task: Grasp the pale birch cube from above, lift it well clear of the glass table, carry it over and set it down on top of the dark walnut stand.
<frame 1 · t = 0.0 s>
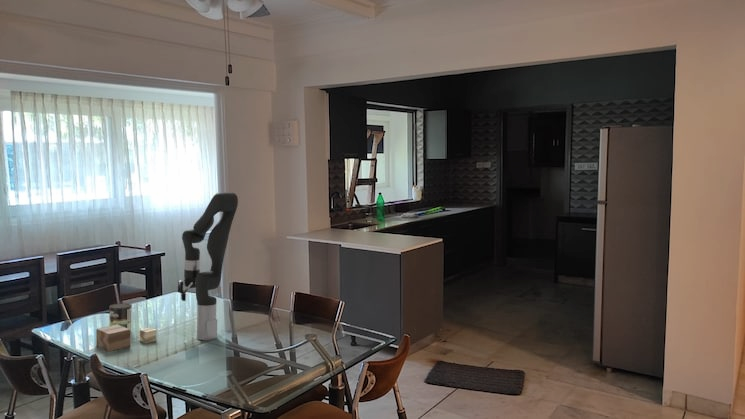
hand: (191, 299, 278), 17 cm above the table, tool pointing down, fingers open, 8 cm apart
walnut stand: (113, 345, 254), on the table
birch cube: (148, 340, 264), on the table
coffee can: (120, 333, 274), on the table
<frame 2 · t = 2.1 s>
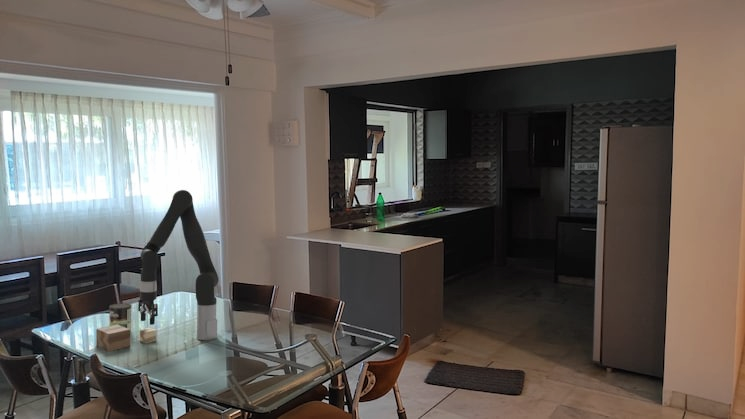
hand: (147, 322, 263), 9 cm above the table, tool pointing down, fingers open, 8 cm apart
nothing on the table moved.
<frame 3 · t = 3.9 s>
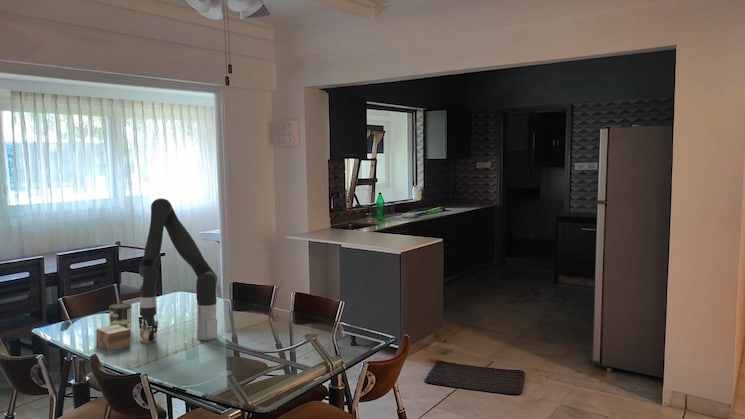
hand: (147, 339, 263), 1 cm above the table, tool pointing down, fingers closed on birch cube, 5 cm apart
birch cube: (148, 340, 263), on the table, touching gripper
everything else where it was.
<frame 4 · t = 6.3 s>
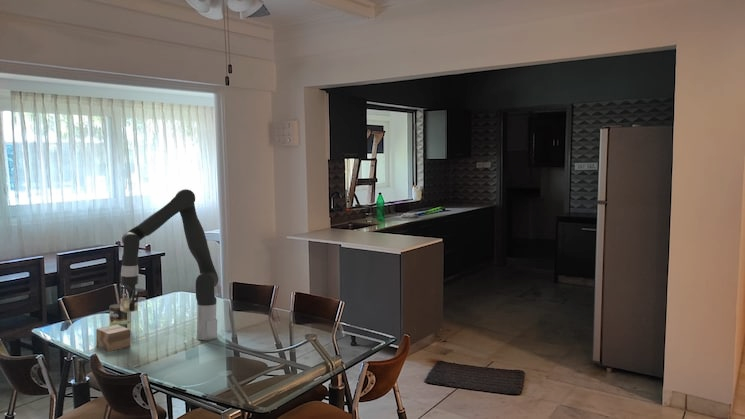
hand: (128, 309, 258), 16 cm above the table, tool pointing down, fingers closed on birch cube, 5 cm apart
birch cube: (128, 310, 258), point 16 cm above the table, touching gripper
everything else where it was.
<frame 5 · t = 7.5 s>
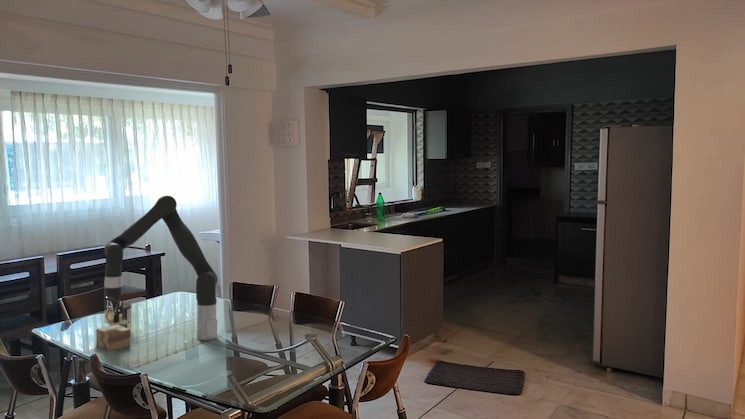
hand: (113, 321, 254), 12 cm above the table, tool pointing down, fingers closed on birch cube, 5 cm apart
birch cube: (113, 322, 254), point 11 cm above the table, touching gripper
everything else where it was.
when the fingers open (10 cm above the table, at t = 8.7 s): birch cube drops 1 cm, resting on walnut stand.
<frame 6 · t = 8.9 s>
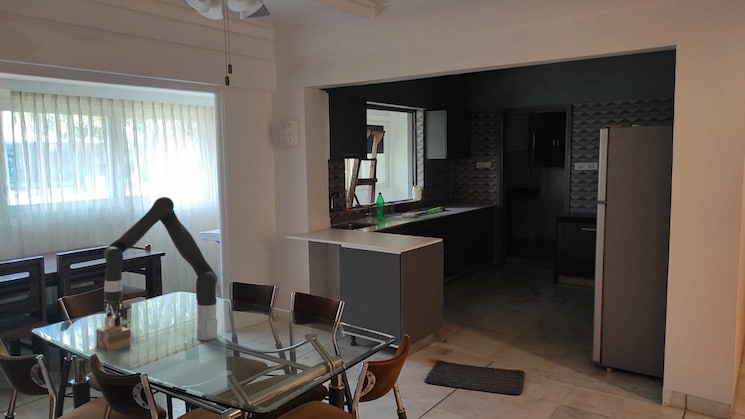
hand: (113, 324, 254), 10 cm above the table, tool pointing down, fingers open, 7 cm apart
birch cube: (113, 329, 254), point 8 cm above the table, touching walnut stand
everything else where it was.
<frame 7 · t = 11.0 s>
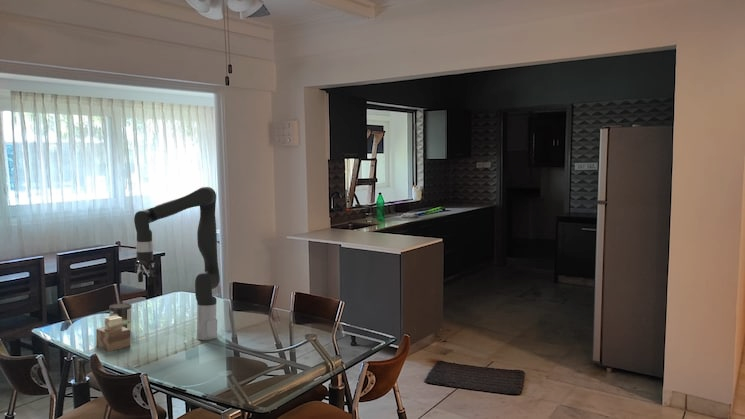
hand: (145, 283, 268), 27 cm above the table, tool pointing down, fingers open, 8 cm apart
nothing on the table moved.
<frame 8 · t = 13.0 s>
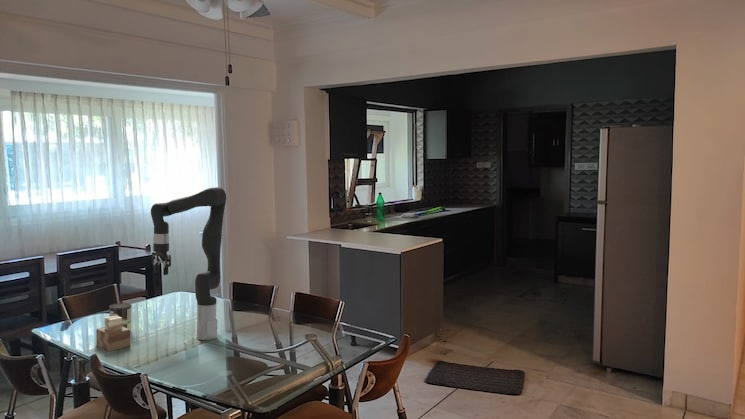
hand: (161, 273, 276), 30 cm above the table, tool pointing down, fingers open, 8 cm apart
nothing on the table moved.
at the end: birch cube inside the target area on the walnut stand (0.0 cm from its centre), point 8.0 cm above the walnut stand's base; birch cube tilted 0°; the gripper is holding nothing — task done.
